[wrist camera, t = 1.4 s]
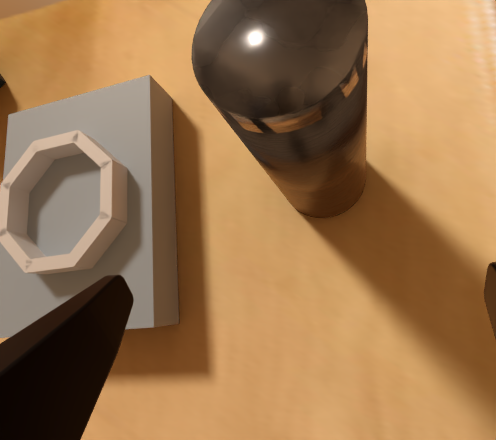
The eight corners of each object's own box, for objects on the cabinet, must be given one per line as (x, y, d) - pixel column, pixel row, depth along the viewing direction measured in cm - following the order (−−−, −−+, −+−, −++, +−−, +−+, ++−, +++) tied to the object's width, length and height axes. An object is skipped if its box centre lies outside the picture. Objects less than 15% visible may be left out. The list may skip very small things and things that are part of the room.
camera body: (179, 323, 23) (138, 329, 19) (29, 334, 26) (-34, 340, 22) (172, 98, 27) (136, 61, 23) (41, 131, 30) (-11, 104, 26)
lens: (372, 211, 21) (382, 93, 9) (286, 223, 22) (195, 135, 10) (359, 131, 22) (352, -69, 10) (278, 147, 24) (188, -12, 11)
